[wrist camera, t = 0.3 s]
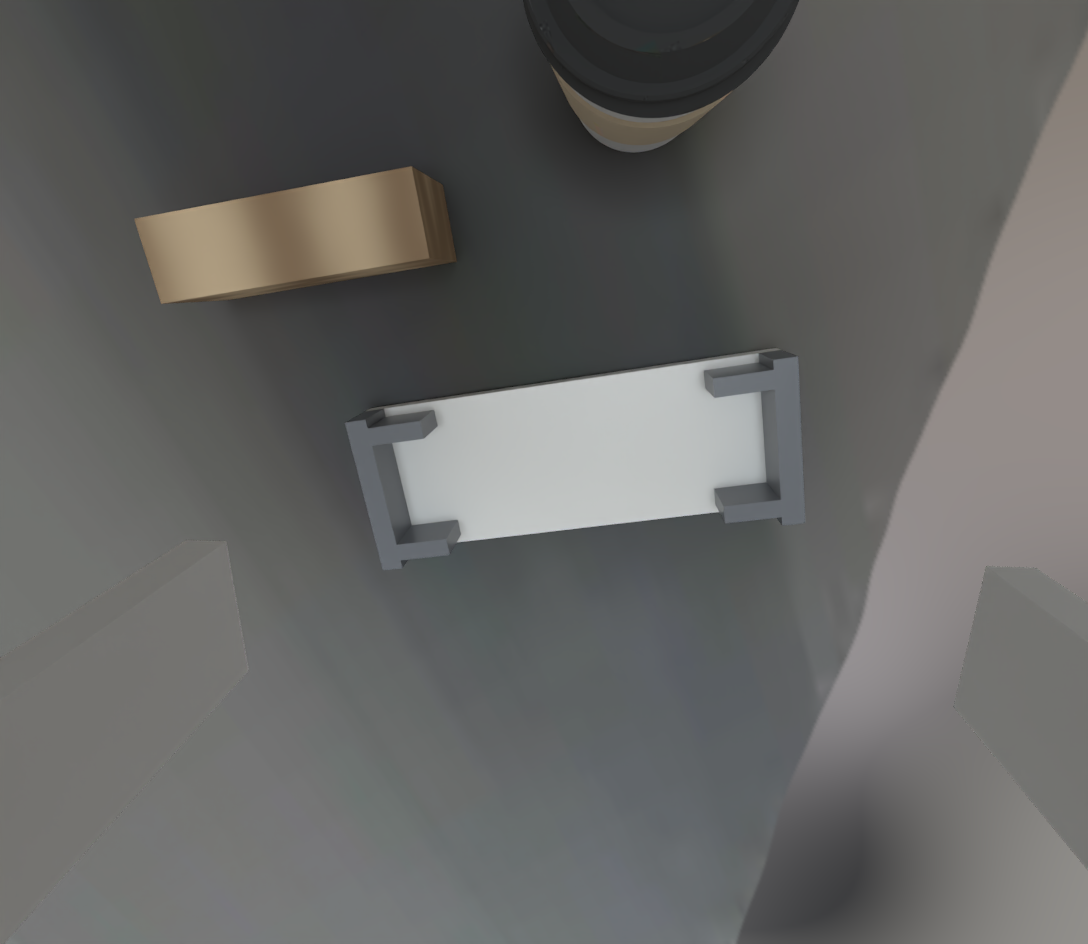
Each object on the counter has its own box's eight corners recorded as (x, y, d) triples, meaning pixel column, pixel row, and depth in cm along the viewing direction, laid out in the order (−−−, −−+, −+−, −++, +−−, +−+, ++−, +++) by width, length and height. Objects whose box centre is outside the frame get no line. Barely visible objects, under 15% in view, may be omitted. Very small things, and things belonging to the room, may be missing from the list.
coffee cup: (752, 132, 31) (878, 10, 17) (586, 205, 33) (575, 149, 19) (698, -65, 29) (791, -393, 15) (522, 24, 31) (456, -195, 17)
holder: (370, 408, 38) (344, 422, 34) (776, 347, 34) (798, 356, 31) (403, 542, 40) (382, 570, 36) (784, 498, 37) (805, 522, 33)
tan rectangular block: (229, 299, 37) (161, 303, 31) (209, 228, 35) (134, 218, 30) (457, 261, 35) (429, 258, 29) (443, 185, 34) (411, 166, 28)
